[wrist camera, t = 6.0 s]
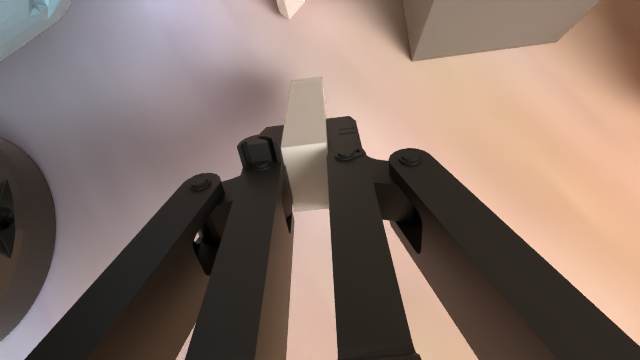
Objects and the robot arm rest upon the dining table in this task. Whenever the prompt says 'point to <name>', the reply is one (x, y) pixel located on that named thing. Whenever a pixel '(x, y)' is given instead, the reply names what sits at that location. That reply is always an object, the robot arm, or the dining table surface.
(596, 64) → the dining table surface
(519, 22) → the box
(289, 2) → the side door
